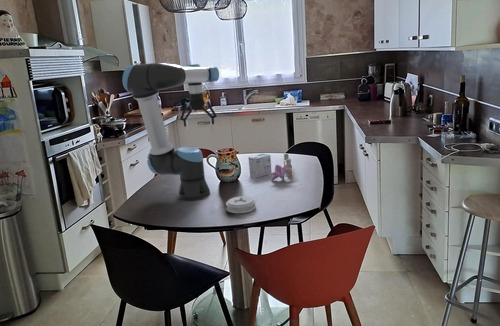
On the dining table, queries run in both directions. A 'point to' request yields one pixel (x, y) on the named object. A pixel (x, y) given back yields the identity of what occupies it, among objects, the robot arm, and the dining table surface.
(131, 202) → the dining table surface
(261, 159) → the light bulb box
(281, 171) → the lily
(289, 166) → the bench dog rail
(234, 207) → the lid
